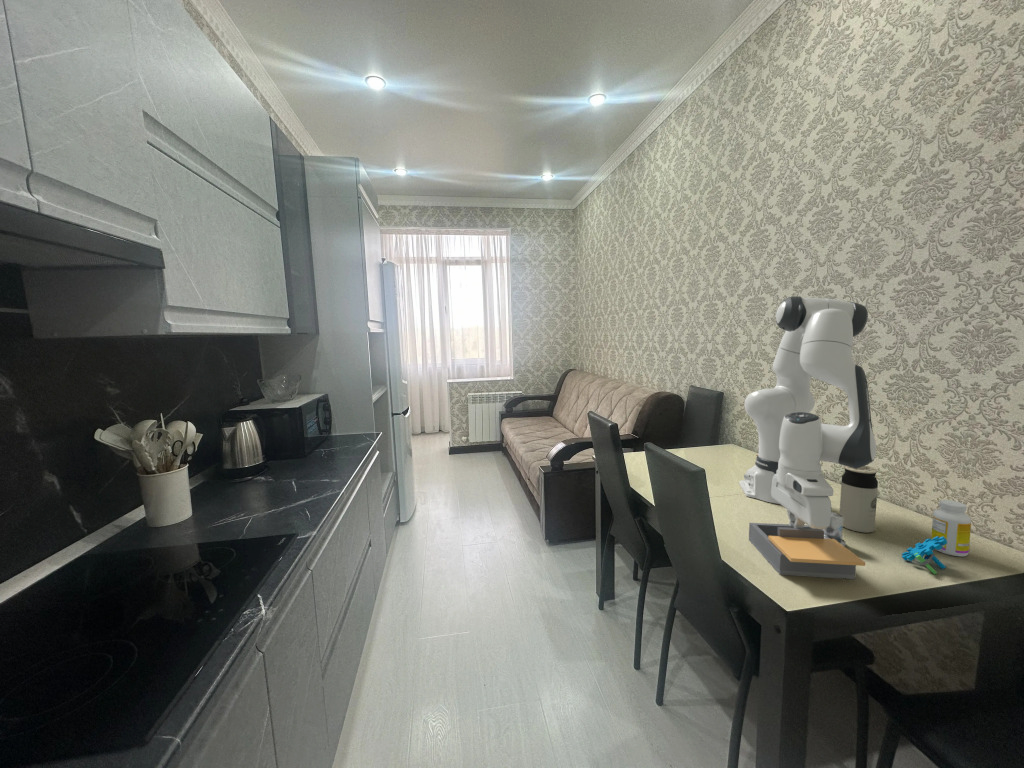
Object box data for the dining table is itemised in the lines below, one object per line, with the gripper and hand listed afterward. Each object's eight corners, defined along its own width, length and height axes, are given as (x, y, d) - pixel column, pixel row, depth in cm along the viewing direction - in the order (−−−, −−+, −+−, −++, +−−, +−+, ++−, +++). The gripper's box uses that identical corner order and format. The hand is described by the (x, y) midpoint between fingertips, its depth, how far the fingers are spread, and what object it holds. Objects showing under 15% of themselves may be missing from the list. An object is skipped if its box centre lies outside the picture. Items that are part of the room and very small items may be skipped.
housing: (748, 539, 111) (749, 522, 111) (811, 542, 109) (812, 525, 108) (779, 574, 95) (780, 554, 94) (854, 579, 92) (856, 558, 92)
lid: (766, 536, 102) (766, 526, 102) (831, 540, 100) (832, 529, 99) (790, 561, 90) (791, 549, 90) (865, 565, 88) (865, 553, 88)
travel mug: (832, 523, 120) (835, 465, 118) (850, 519, 122) (854, 462, 120) (862, 535, 112) (866, 473, 111) (881, 530, 115) (885, 470, 113)
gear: (906, 543, 104) (946, 529, 97) (928, 564, 102) (971, 551, 94) (892, 562, 99) (934, 548, 92) (914, 585, 96) (960, 572, 89)
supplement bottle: (968, 551, 103) (972, 503, 102) (968, 560, 99) (973, 510, 97) (930, 542, 108) (934, 496, 107) (929, 550, 104) (933, 503, 102)
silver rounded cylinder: (812, 537, 112) (813, 510, 111) (836, 538, 111) (837, 510, 110) (825, 548, 106) (827, 519, 105) (850, 549, 105) (852, 520, 104)
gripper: (765, 464, 111) (763, 512, 113) (807, 491, 91) (805, 548, 93) (790, 465, 110) (788, 513, 112) (838, 492, 90) (835, 550, 92)
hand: (796, 529), depth 102 cm, fingers closed
